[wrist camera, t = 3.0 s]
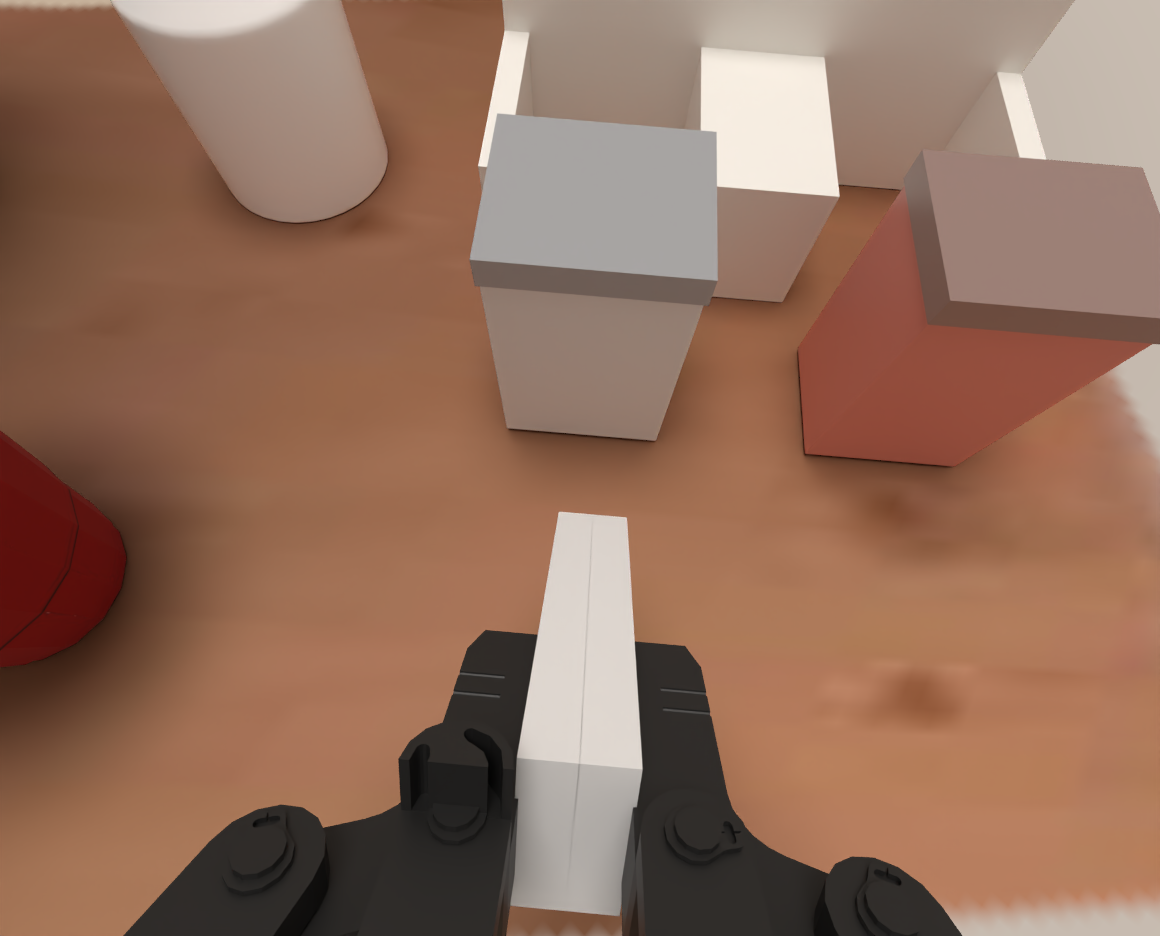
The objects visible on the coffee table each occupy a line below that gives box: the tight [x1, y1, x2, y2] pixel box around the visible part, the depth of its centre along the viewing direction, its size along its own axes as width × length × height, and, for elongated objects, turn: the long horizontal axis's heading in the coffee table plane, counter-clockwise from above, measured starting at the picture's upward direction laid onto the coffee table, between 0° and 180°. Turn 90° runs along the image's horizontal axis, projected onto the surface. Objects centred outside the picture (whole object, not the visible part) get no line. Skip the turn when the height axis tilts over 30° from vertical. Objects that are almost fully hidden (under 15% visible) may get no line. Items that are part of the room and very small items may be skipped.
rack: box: [478, 0, 1075, 302], centre depth 24 cm, size 21×10×10 cm, turn 85°
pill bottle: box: [110, 0, 388, 223], centre depth 24 cm, size 8×8×11 cm
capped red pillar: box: [798, 149, 1160, 466], centre depth 20 cm, size 6×5×10 cm
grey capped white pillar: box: [470, 113, 718, 441], centre depth 20 cm, size 6×5×10 cm
